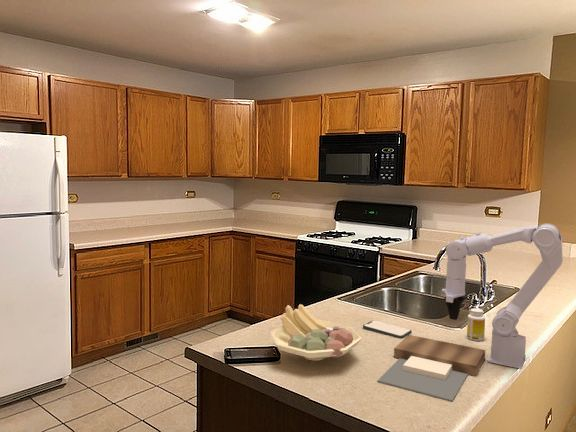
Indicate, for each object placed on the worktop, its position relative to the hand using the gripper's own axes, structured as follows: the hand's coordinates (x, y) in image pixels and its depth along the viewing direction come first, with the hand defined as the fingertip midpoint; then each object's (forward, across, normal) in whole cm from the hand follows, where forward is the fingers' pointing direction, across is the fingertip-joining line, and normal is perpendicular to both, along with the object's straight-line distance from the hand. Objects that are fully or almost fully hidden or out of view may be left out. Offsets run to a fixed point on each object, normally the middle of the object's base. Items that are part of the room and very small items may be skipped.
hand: (453, 318), depth 150 cm
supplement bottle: (+11, -15, +4) cm, 19 cm away
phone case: (+11, -6, -24) cm, 27 cm away
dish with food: (+11, +29, -35) cm, 46 cm away
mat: (+10, +26, -2) cm, 28 cm away
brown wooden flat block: (+10, +9, -2) cm, 14 cm away
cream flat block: (+10, +20, -2) cm, 23 cm away
